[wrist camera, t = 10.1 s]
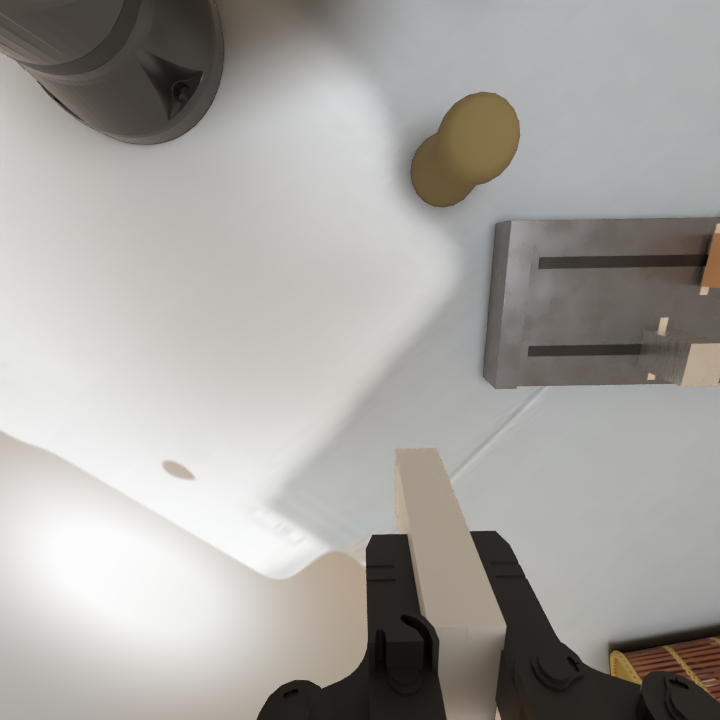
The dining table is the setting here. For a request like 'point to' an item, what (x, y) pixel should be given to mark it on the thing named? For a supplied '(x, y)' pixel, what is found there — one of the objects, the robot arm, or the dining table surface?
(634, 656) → the picnic basket
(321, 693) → the robot arm
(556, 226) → the slider panel
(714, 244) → the fader
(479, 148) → the cork
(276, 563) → the dining table surface
